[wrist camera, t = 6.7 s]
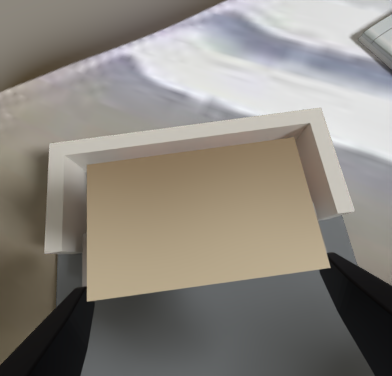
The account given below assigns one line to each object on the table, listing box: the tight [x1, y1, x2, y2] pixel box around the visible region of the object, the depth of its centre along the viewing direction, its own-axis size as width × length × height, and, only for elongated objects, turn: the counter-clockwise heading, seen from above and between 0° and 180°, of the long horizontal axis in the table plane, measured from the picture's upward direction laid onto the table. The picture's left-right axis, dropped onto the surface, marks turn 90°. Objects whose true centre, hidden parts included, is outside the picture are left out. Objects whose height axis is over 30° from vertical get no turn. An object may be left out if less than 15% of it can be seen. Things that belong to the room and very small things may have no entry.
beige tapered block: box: [82, 137, 331, 302], centre depth 10 cm, size 3×14×12 cm, turn 98°
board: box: [56, 172, 375, 376], centre depth 16 cm, size 24×20×1 cm
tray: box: [44, 108, 355, 254], centre depth 16 cm, size 7×18×3 cm, turn 97°
